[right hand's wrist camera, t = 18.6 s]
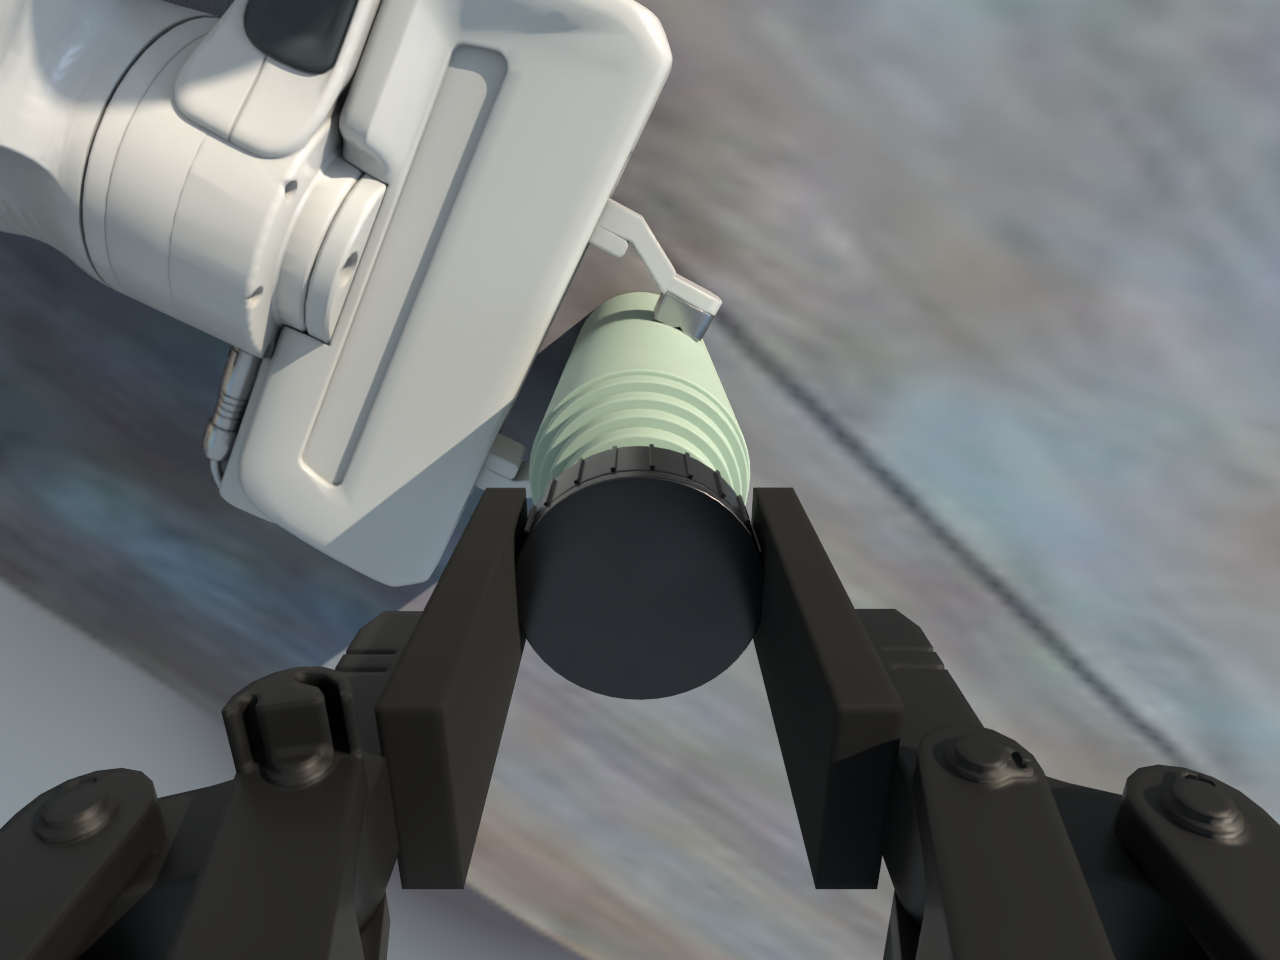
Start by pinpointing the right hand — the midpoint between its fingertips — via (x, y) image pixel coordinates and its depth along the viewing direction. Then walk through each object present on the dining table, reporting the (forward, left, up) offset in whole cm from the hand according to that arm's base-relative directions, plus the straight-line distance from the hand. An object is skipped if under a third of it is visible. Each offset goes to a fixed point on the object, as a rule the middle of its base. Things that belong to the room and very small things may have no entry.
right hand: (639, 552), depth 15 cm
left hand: (0, -1, -12) cm, 12 cm away
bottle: (0, 0, -18) cm, 18 cm away
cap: (0, 0, +1) cm, 1 cm away
